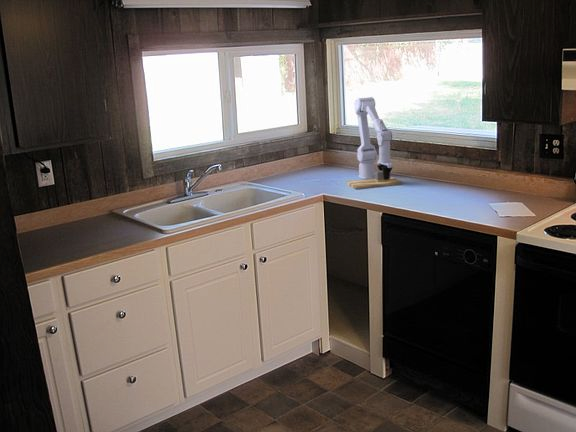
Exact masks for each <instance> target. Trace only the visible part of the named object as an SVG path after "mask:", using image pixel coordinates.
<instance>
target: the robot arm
mask: <svg viewBox="0 0 576 432" xmlns="http://www.w3.org/2000/svg"><path fill="white" fill-rule="evenodd" d="M353 103H354V104H353V105H354V111H355V114H356V116H357V123H358V131H359V136H360V137H359V138H360V146H359V147H357V150H356V151H357V154H356V159H357V160H358V161H359V165H358V175H357V177H358V178H359V179H361V180H364V179H373V178H375V166H374V165H375V163H374V162H376V160H377V162H376V164H377V165H376V167H377V168H378V171H382V170H383V174H384V180H388V179H389V175H390V176H391V172H392V170H393V165H392V164H393V163H392V161H391V141H392V140H393V133H392V131H391V130H390V129H389V128H387V127H386V125H385V123H384V120H383V119H381V118H380V117H379V115H378V112H377V110H376V100H375V98H374V97H373V96H370V97H357V98H356V99H355V101H354V102H353ZM368 116H369V117H370V119H371V121H372V127H373V129H374V131H375V133H376V140H377V145H378V153H377V150H376V147H375V145H373V144H372V142H371V138H370V137H371V136H370V129H369V123H368V122H369V121H368ZM377 158H378V159H377Z"/></svg>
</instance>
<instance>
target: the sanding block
mask: <svg viewBox="0 0 576 432" xmlns="http://www.w3.org/2000/svg"><path fill="white" fill-rule="evenodd" d="M374 176H375V181H377V182H381V181H390V177H391V174H390V175H389V179H388V180H384V174H383V170H382V171H379V170H374Z"/></svg>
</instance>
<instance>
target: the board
mask: <svg viewBox="0 0 576 432" xmlns="http://www.w3.org/2000/svg"><path fill="white" fill-rule="evenodd" d="M346 184H347V186H349V187H351V188H352V189H355V190H363V189H372V188H381V187H391V186H399V185H403V181H402V180H400V179H397V178H396V177H393V176H390V181H381V182H377V181H375V178H371V179H358V180H357V179H356V180H354V179H353V180H347V181H346Z"/></svg>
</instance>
